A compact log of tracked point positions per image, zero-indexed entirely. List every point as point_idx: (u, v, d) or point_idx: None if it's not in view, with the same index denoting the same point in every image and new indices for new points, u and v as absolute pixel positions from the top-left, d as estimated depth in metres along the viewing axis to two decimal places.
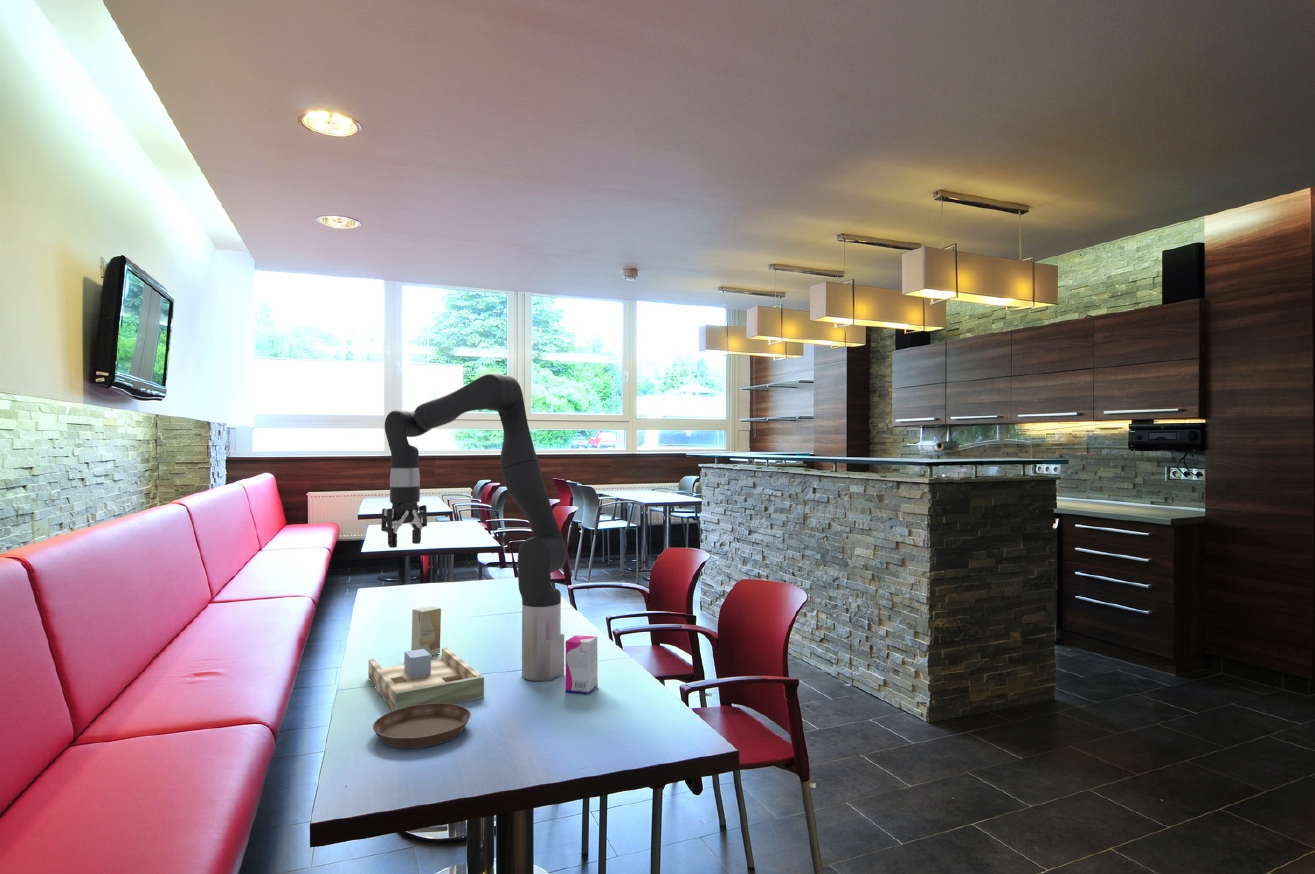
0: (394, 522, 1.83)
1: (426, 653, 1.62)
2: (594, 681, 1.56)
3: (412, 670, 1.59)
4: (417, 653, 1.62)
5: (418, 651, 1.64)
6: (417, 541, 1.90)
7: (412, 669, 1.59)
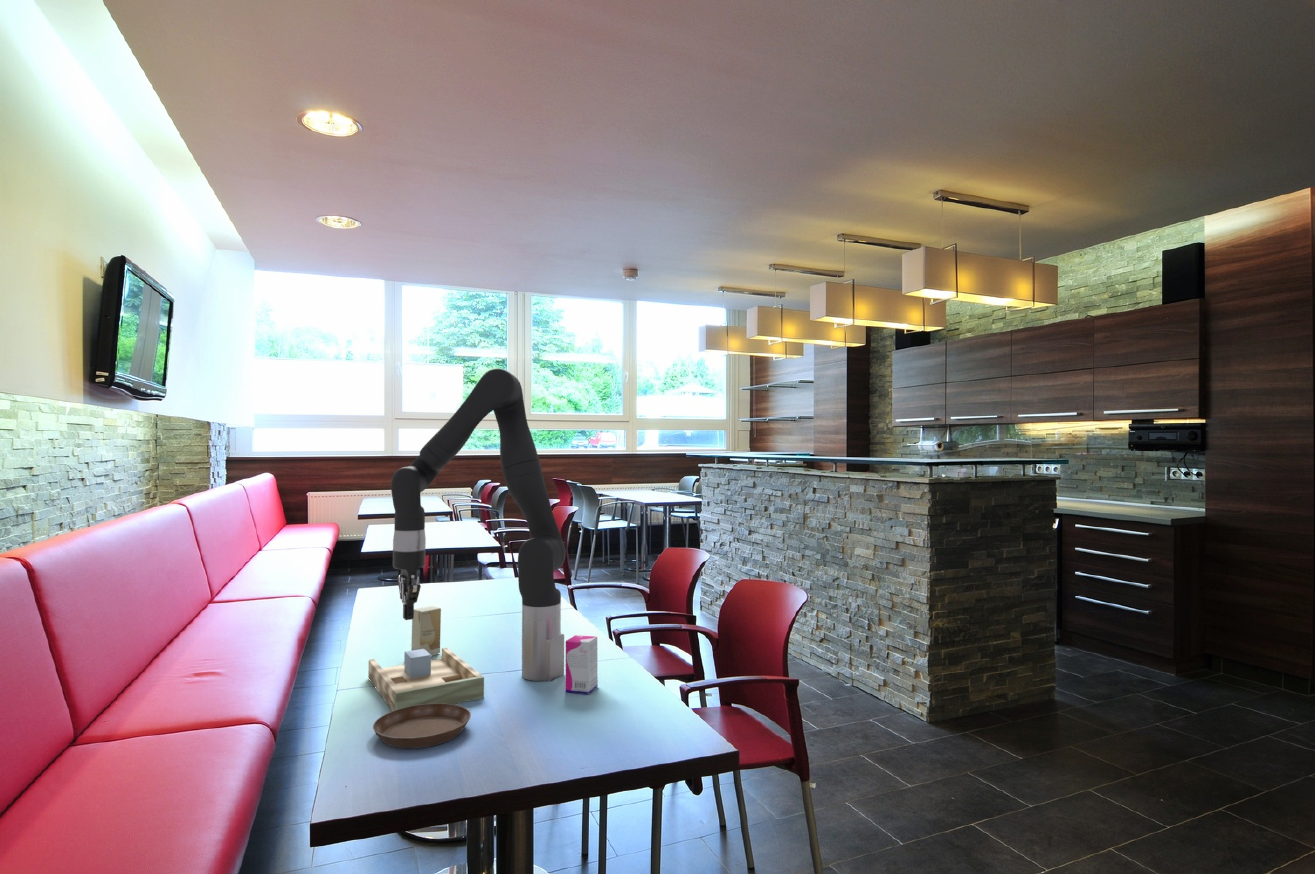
0: None
1: (426, 653, 1.62)
2: (594, 681, 1.56)
3: (412, 670, 1.59)
4: (417, 653, 1.62)
5: (418, 651, 1.64)
6: None
7: (412, 669, 1.59)
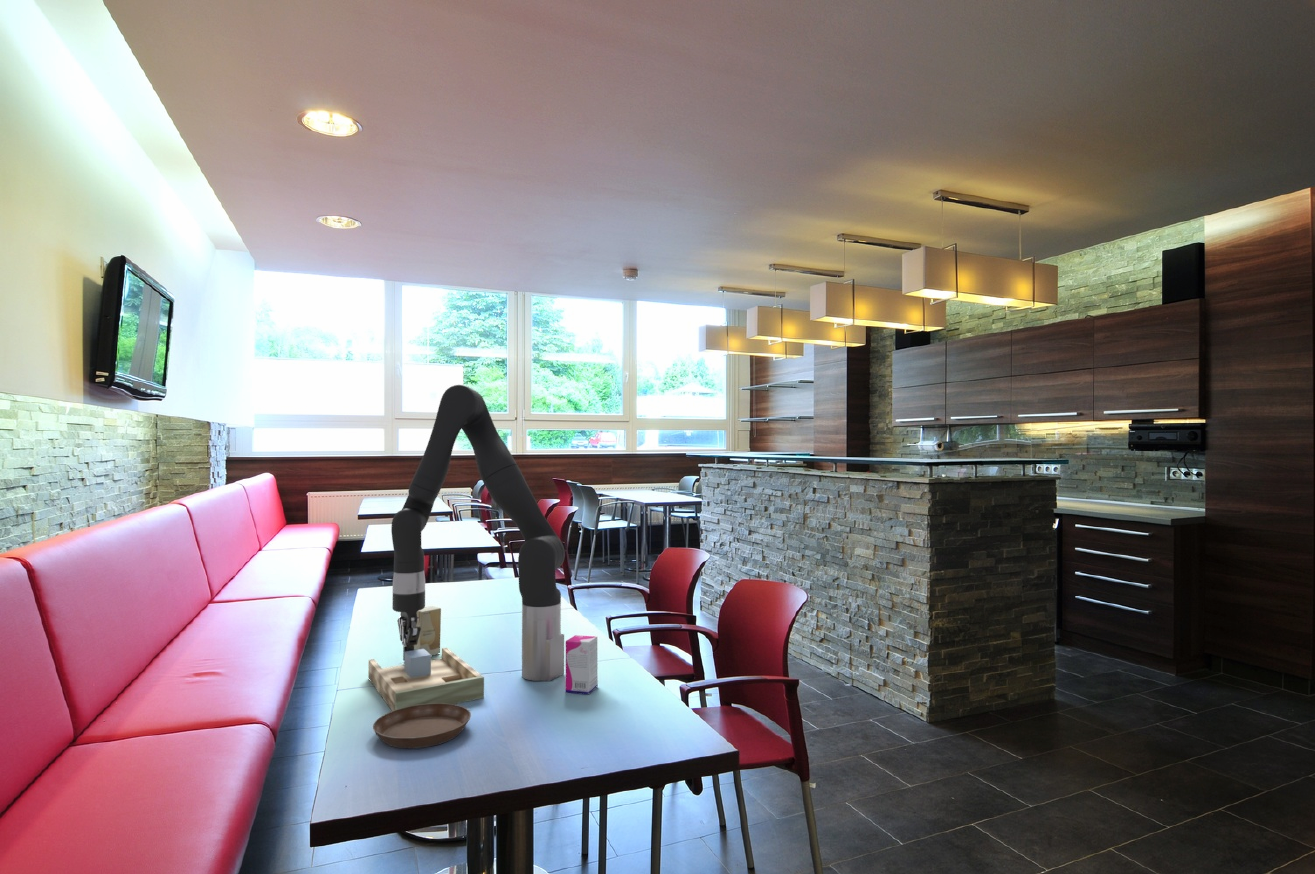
0: None
1: (426, 653, 1.62)
2: (594, 681, 1.56)
3: (412, 670, 1.59)
4: (417, 653, 1.62)
5: (418, 651, 1.64)
6: None
7: (412, 669, 1.59)
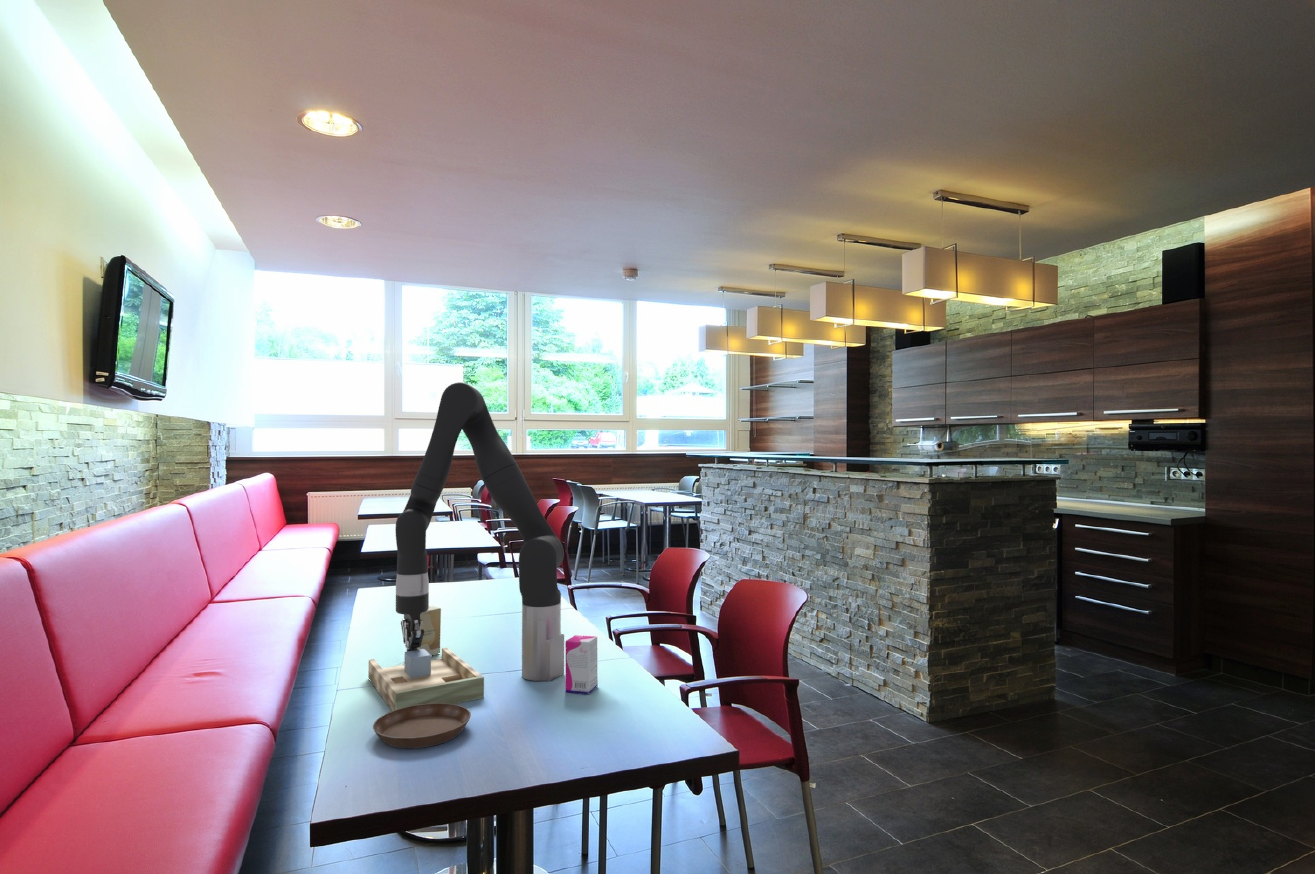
0: None
1: (426, 653, 1.62)
2: (594, 681, 1.56)
3: (412, 670, 1.59)
4: (417, 654, 1.62)
5: (418, 651, 1.64)
6: None
7: (412, 669, 1.59)
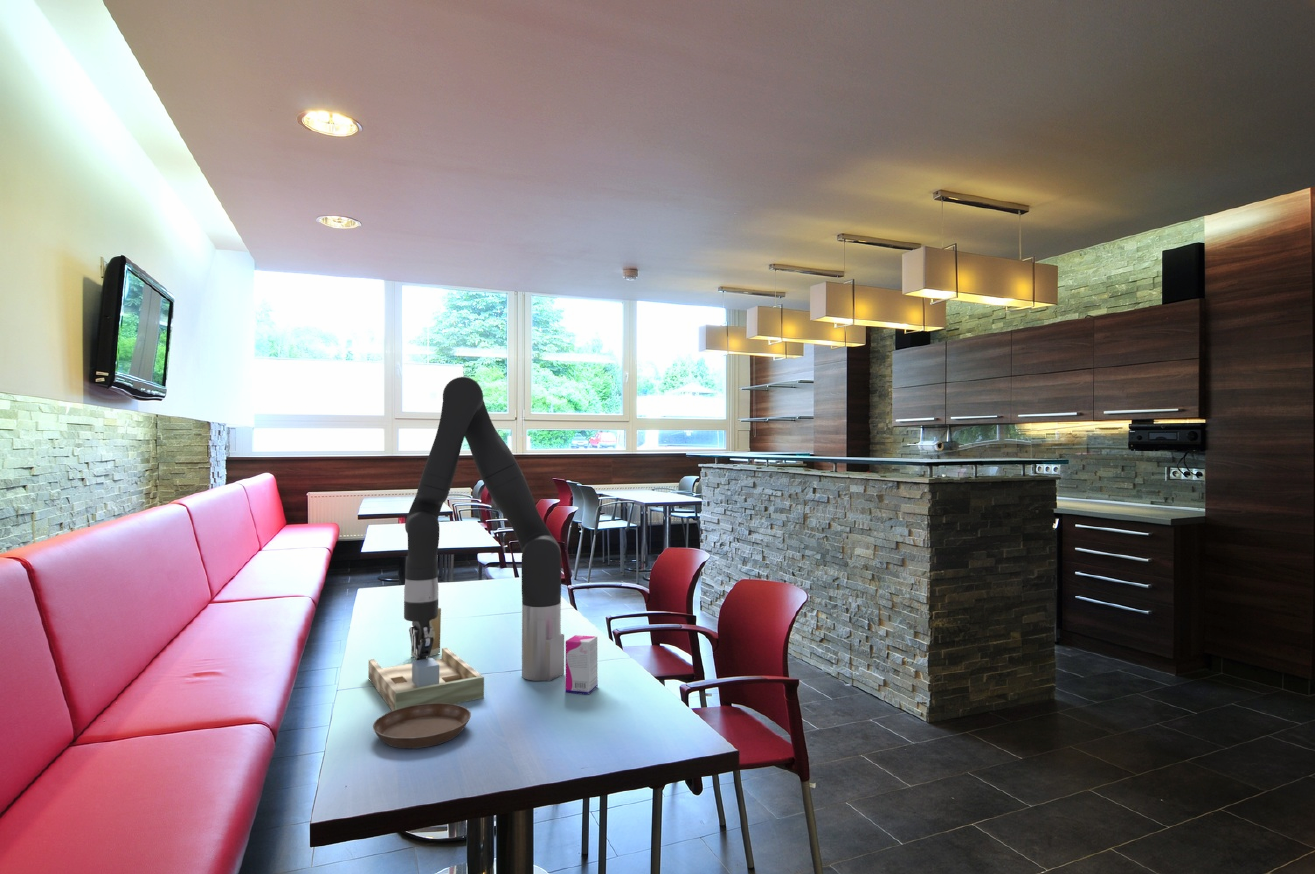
0: None
1: (434, 663, 1.55)
2: (594, 681, 1.56)
3: (420, 681, 1.51)
4: (425, 663, 1.55)
5: (426, 660, 1.57)
6: None
7: (419, 680, 1.51)
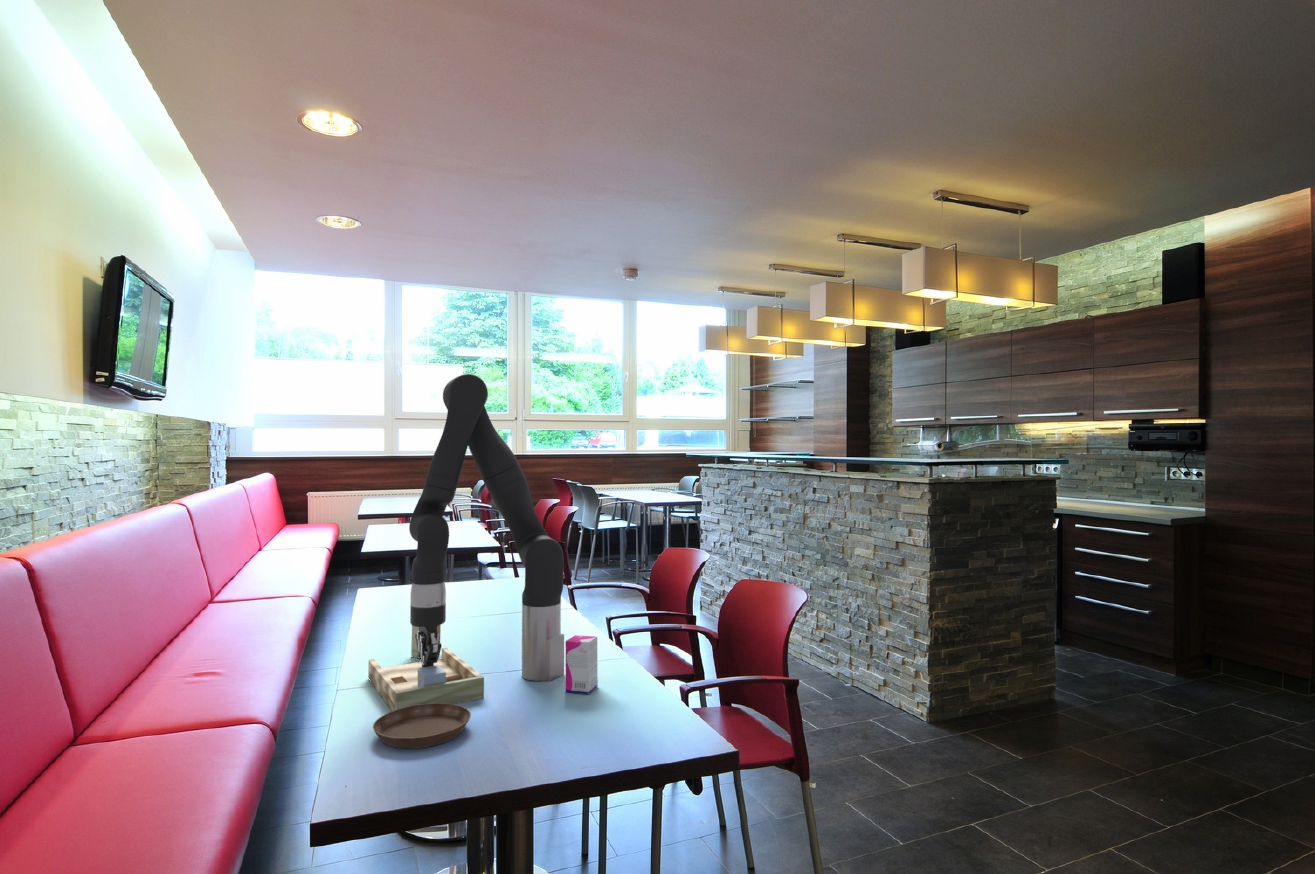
0: None
1: (441, 670, 1.50)
2: (594, 681, 1.56)
3: None
4: (431, 671, 1.49)
5: (432, 668, 1.51)
6: None
7: None
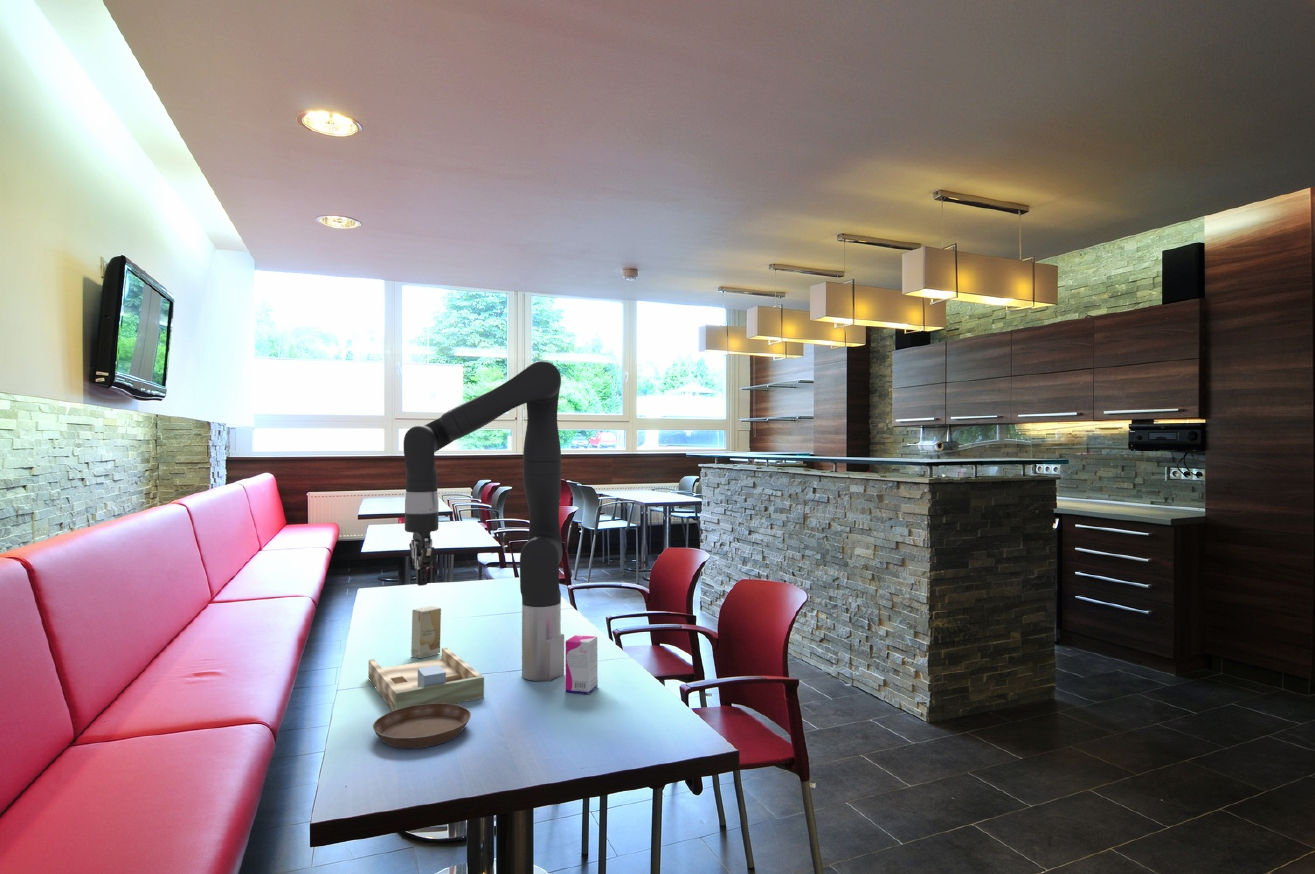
0: None
1: (441, 670, 1.50)
2: (594, 681, 1.56)
3: None
4: (431, 671, 1.49)
5: (432, 668, 1.51)
6: None
7: None
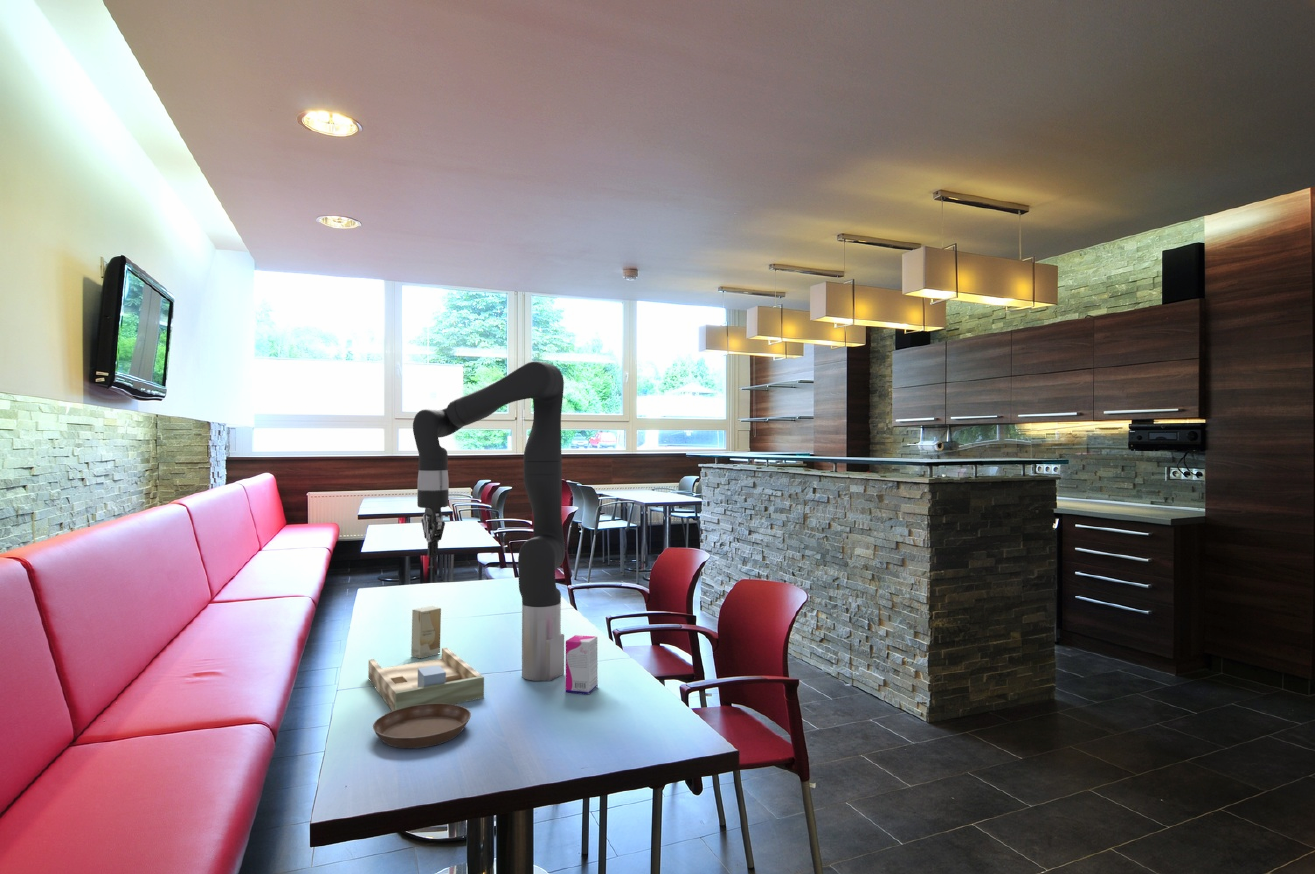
0: None
1: (441, 670, 1.50)
2: (594, 681, 1.56)
3: None
4: (431, 671, 1.49)
5: (432, 668, 1.51)
6: None
7: None
